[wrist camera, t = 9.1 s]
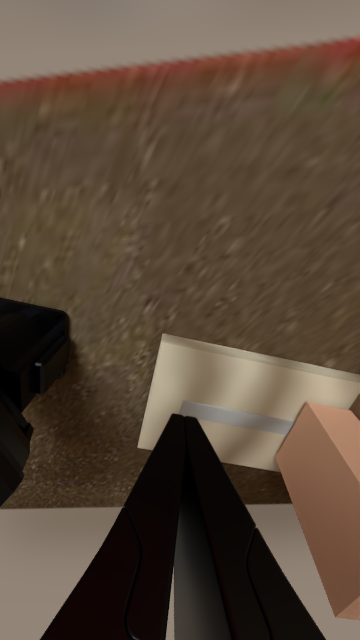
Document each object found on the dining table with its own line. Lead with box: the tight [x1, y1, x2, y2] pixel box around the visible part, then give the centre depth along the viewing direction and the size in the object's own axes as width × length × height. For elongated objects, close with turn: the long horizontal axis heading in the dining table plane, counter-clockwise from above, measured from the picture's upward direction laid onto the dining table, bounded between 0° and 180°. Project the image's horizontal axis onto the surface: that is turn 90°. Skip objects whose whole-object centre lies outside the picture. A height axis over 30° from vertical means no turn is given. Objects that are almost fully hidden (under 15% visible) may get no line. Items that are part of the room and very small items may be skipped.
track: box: [137, 334, 360, 472], centre depth 19 cm, size 19×12×8 cm, turn 77°
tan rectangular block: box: [275, 402, 360, 620], centre depth 17 cm, size 4×7×10 cm, turn 167°
